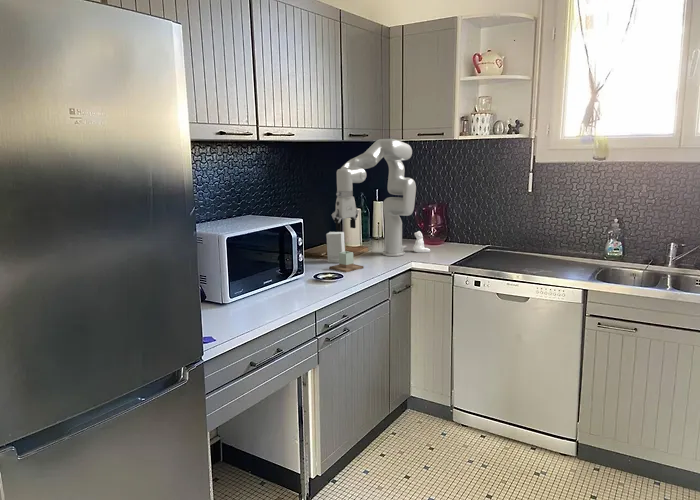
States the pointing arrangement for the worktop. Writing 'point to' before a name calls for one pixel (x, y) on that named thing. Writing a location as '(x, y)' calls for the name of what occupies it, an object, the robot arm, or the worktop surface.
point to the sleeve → (346, 259)
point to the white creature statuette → (420, 244)
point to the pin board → (346, 268)
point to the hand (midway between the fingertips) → (345, 229)
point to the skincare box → (335, 246)
